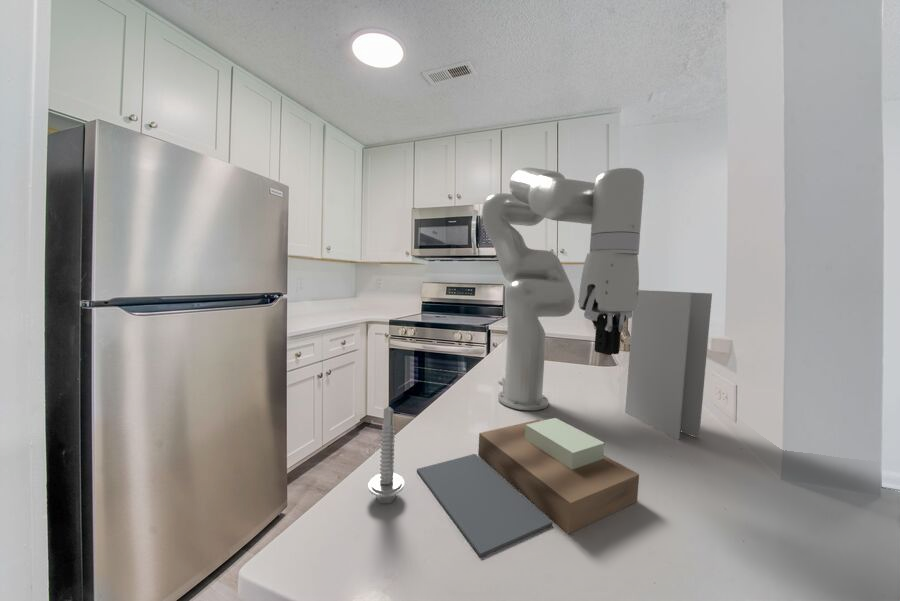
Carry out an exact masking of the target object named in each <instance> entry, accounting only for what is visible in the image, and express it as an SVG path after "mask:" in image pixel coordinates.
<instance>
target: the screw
mask: <svg viewBox="0 0 900 601" xmlns="http://www.w3.org/2000/svg"><path fill="white" fill-rule="evenodd" d="M394 426H395V423H394V408H392V407H390V406H387V407H385V408H383V425H382V426H381V429H382V430H381V431H380V433H381V435H380V437H381V439H380V441H381V442H380V445H381V447H380V450H381V451H380V454H381V455H380V461H379V462H380V464H379V466H380V468H379V470H380V472H379V474H376V475H375V476H374V477H372V478H371V479H370V481H369V482H368V490H369V492H370V494H372V495H374V496H375V498H376V499H377V502H378V504H391V503H392V502H394V500H395V499H396V498H397V495H398V494H399V493H401V491H402V490H403V489H404V486H405V480H404V479H403V477H402V476H401V475H399V474H397V473H396V472H395V469H394V467H395V465H394V463H395V461H394V459H395V452H394V451H395V442H396V441H395V434H396V432H395V430H396V428H395V427H394Z"/></svg>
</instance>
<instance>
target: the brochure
mask: <svg viewBox="0 0 900 601" xmlns="http://www.w3.org/2000/svg"><path fill="white" fill-rule="evenodd" d="M712 298H713V293H711V292H710V293H709V292H693V291H692V292H687V291H666V290H665V291H664V290H643V289H641V290H640V289H639V291H638V302H637V307H636V309H635V310H634V311H632V317H631V328H630V342H629V343H630V344H629V356H628V357H629V358H628V366H627V367H628V368H627V369H628V371H627V383H626V398H625V408H624V409H625V410H624V412H625V413H626V414H628V415H630V416H632V417H634V418H635V419H636V420H639V421H641V422H643V423H645V424H646V425H649V426H650V425H651V427H652V426H653V428H654V427H655V429H656V428H657V429H656V430H658V431H660V432H662V433H664V434H665V435H667V434H668V436H669V435H670V437H671V436H672V438H673V439H675V440H677V441H679V440H680V435H681V433H682V432H684V433H683V434H685V433H687V434H686V435H688V434H690V435H689V436H691V435H693V436H692V437H694V436H695V437H694V438H697V437H699V438H700V434H701V421H702V410H703V400H704V388H705V378H706V366H707V365H706V364H707V357H708V356H707V355H708V345H709V343H708V342H709V333H710V331H709V330H710V321H711V320H710V319H711V308H712ZM680 431H682V432H680Z"/></svg>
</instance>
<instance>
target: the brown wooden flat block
mask: <svg viewBox="0 0 900 601" xmlns="http://www.w3.org/2000/svg"><path fill="white" fill-rule="evenodd" d="M539 421H542V420H541V419H536V420H531V421H527V422H523V423H517V424H514V425H508V426H504V427H499V428H495V429H491V430H486V431H482V432H479V433H478V450H477V452H478V453H477V456H478V457H479V458H480V459H481V460H483V461H484V462H485V463H486V464H487V465H488V466H489V467H492V469H493V470H494V471H495V472H496V473H497V474H498V475H500V476H501V477H502V478H503V479H504V480H505V481H506V482H507V483H509V484H510V485H511V486H512V487H513V488H514V489H515V490H516V491H518V492H519V493H520V494H521V495H522V496H523V497H524V498H526V499H527V500H528V501H529V502H530V503H531V504H532V505H533V506H535V507H536V508H537V509H538V510H539V511H540V512H541V513H543V514H544V515H545V516H546V517H547V518H548V519H549V520H550V519H551V521H553V523H554V524H556V525H557V526H558V527H559V528H561V530H563V531H564V532H565V533H566V534H567V535H570V534H572V533H574V532H576V531H578V530H580V529H583V528H585V527H587V526H588V525H591V524H593V523H595V522H597V521H600V520H601V519H604V518H606V517H607V516H609V515H612V514H614V513H616V512H618V511H620V510H622V509H624V508H626V507H628V506H630V505H633V504H635V503H637V502H638V498H639V497H638V496H639V483H640V482H639V481H640V474H639V473H638V472H635V471H634V470H632V469H630V468H628V467H627V466H625V465H623V464H621V463H620V462H617V461H616V460H614V459H612V458H611V457H608V456H606V455H605V454H604V459H601V460H598V461H595V462H592V463H590V464H587V465H584V466H581V467H578V468H575V469H570V468H569V467H567V466H566V465H564V464H562V463H561V462H559V461H558V460H556V459H555V458H553V457H552V456H550V455H549V454H547V453H546V452H544V451H543V450H541V449H540V448H538V447H536V446H535V445H533V444H532V443H530V442H529V441H527V440H526V439H525V427H526V424H531V423H535V422H539Z"/></svg>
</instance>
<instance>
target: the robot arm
mask: <svg viewBox="0 0 900 601" xmlns="http://www.w3.org/2000/svg"><path fill="white" fill-rule="evenodd" d="M644 184H645V177H644V174H643V172H641V171H640V170H639V169H637V168H633V167H631V168H630V167H619V168H613V169H609V170H606V171H603V172H602V173H600V174H599V175H597V177H596V178H595V180H594V182H590V181H583V180H579V179H577V180H576V179H569V178H566V177H565V176H564V175H563V174H562V173H560V172H558V171H555V170H547V169H542V168H536V167H524V168H521V169H519V170H517V171H515V172H514V173H513V174H512V176H511V178H510V179H509V184H508V185H509V190H510V193H504V192H503V193H502V192H501V193H494V194H491V195H489V196H488V197H487V198H486V199H485V200H484V202H483V205H482V210H481V211H482V213H481V214H482V215H481V216H482V218H481V219H482V224H483V228H484V231H485V233H486V235H487V237H488V239H489V241H490V242H491V244H492V246H493V248H494V250H495V254H496V257H497V260H498V263H499V267H500V270H501V272H502V275H503V277H504V278H505V279H506V281H508V283H509V282H510V283H509V284H508V286H506V290H505V296H504V298H505V306H506V316H507V336H506V354H505V355H506V358H505V374H504V375H505V376H504V377H502V379H499V380H498V382H497V383H498V385H500V386H502V391H500V392H499V393H498V396H497V400H498V401H499V402H500V404H502V405H504V406H506V407H509V408H511V409H515V410H520V411H539V410H543V409H546V408H548V406H549V399H548V397H547V396H545V395H543V386H544V373H545V372H544V371H545V354H546V353H545V352H546V331H545V329H544V327H543V325H542V323H541V322H540V320H539V318H549V317H550V318H551V317H552V318H553V317H554V318H555V317H556V318H557V317H558V318H559V317H566V316H567V315H569V314H570V313H571V312H572V311H573V310H574V309H575V308H574V307H575V304H576V303H575V302H576V297H575V292H574V288H573V286H572V284H571V281H570V279H569V277H568V274H567V272H566V271H565V268H564V267H563V265H562V261H561V260H560V258H559V257H558V256H557V255H556V254H555V253H554V252H551V251H549V250H543V249H532V248H530V247H528V246H527V244H526V243H525V240H524V238H523V236H522V235H521V234H522V233H520V231H518V230H517V229H516V228H515V227H513V226H514V225H515V226H525V227H531V226H532V227H533V226H536V225H538V224H540V222H542V221H544V219H547V220H551V221H556V222H568V223H576V224H577V223H578V224H585V225H591V227H590V238H589V239H590V242H589V252H588V253H586V257H585V258H584V259H585V260H584V264H583V268H582V272H581V273H582V274H581V278H580V286H579V294H578V295H579V297H578V307H579V309H580V310H582V311H584V313H583V314H584V315H583V317H584V318H585V319H587V320H590V321H591V322H592V323H593V329H594V330H595V337H594V352H595V353H599V354H603V355H607V356H612V355H619V354H620V346H621V345H620V343H621V334H622V333H621V331H623V329H624V325H625V322H626V321H627V320H629V319H630V318H631V319H632V314H633V311H634V310H635V309H636V307H637V302H638V291H639V290H640V289H639V288H640V285H639V284H640V274H639V271H640V270H639V256H638V255H639V252H640V240H641V227H642V213H643V200H644V199H643V198H644V189H645V187H644ZM512 225H513V226H512Z"/></svg>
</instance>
